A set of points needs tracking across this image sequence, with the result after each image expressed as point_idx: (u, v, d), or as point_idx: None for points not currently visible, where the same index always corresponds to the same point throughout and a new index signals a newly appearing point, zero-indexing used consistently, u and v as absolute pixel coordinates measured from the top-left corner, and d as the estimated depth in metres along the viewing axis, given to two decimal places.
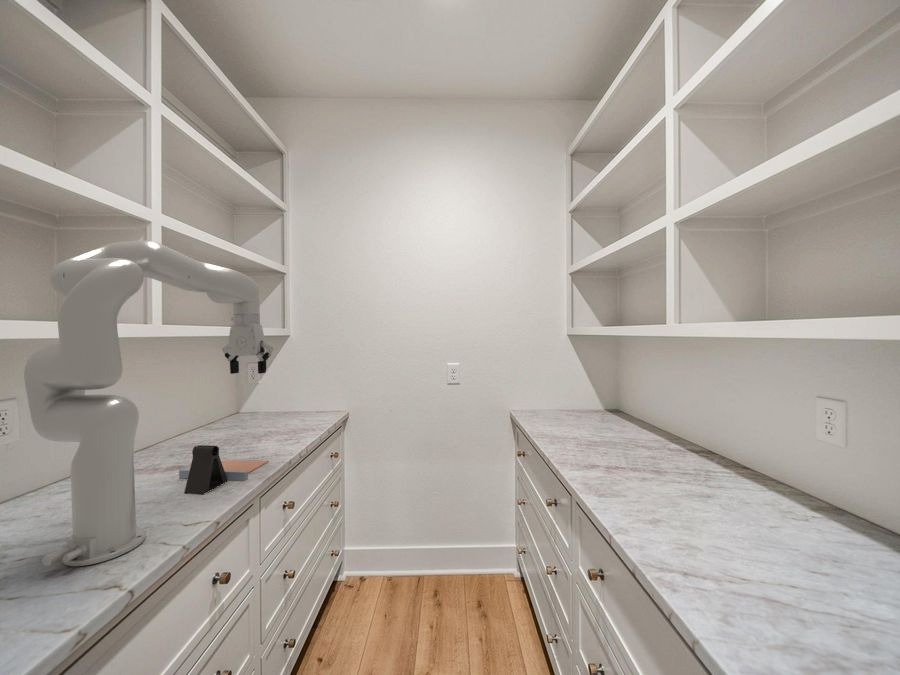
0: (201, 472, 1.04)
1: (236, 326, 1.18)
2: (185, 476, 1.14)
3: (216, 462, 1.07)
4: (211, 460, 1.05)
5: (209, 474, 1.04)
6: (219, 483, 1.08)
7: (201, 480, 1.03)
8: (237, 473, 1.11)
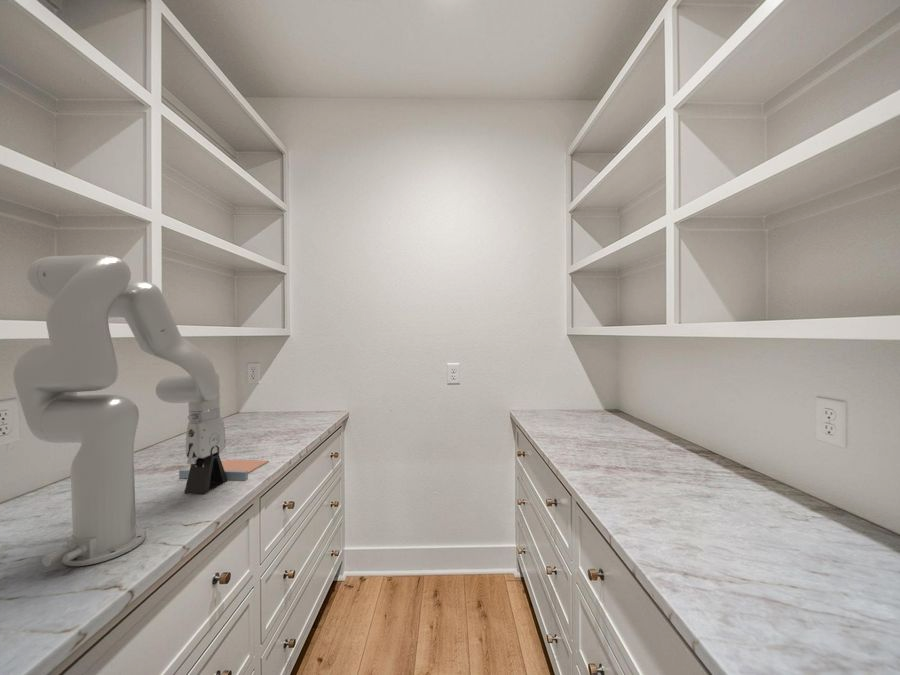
0: (201, 472, 1.04)
1: (208, 423, 1.04)
2: (185, 476, 1.14)
3: (216, 462, 1.07)
4: (211, 460, 1.05)
5: (209, 474, 1.04)
6: (219, 483, 1.08)
7: (201, 480, 1.03)
8: (237, 473, 1.11)
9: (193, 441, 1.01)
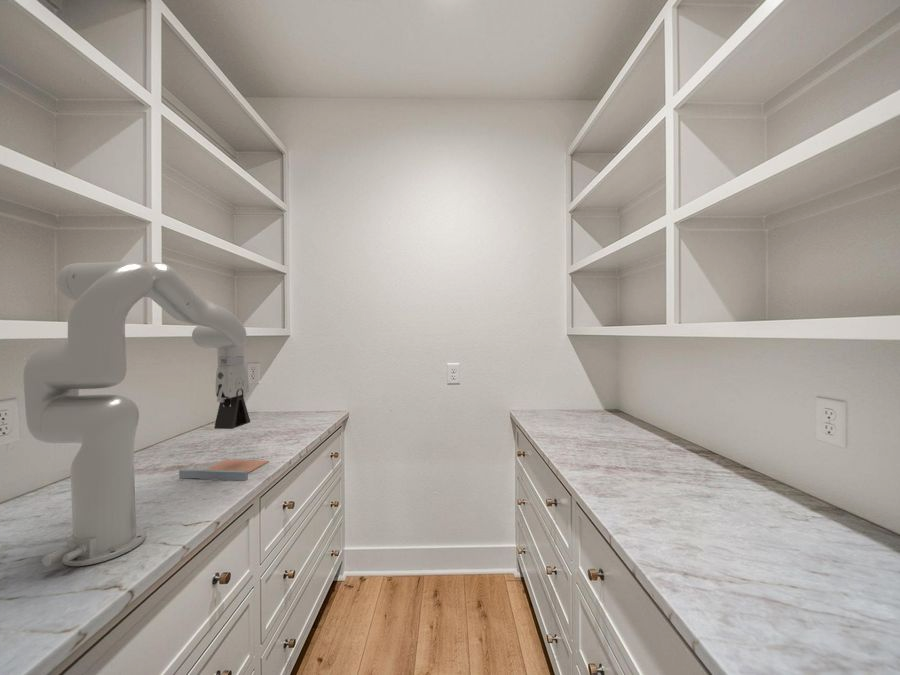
0: (229, 410, 1.19)
1: (234, 368, 1.19)
2: (185, 476, 1.14)
3: (241, 403, 1.22)
4: (237, 400, 1.20)
5: (236, 412, 1.19)
6: (243, 422, 1.23)
7: (229, 417, 1.18)
8: (237, 473, 1.11)
9: (222, 382, 1.16)
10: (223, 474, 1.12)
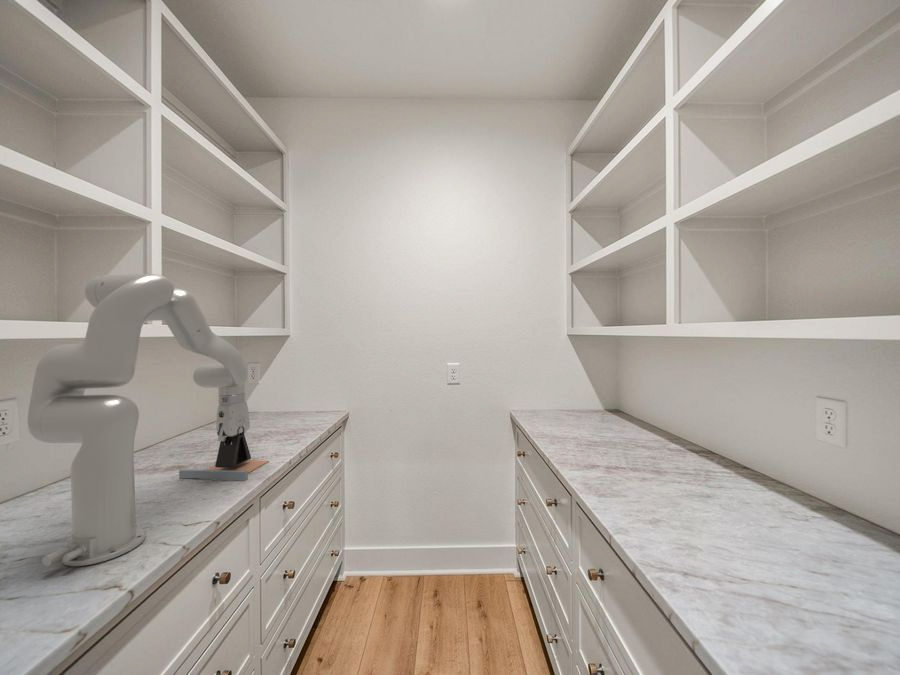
0: (229, 449, 1.19)
1: (235, 406, 1.19)
2: (185, 476, 1.14)
3: (242, 441, 1.22)
4: (238, 438, 1.20)
5: (236, 450, 1.19)
6: (244, 459, 1.23)
7: (230, 455, 1.18)
8: (237, 473, 1.11)
9: (223, 421, 1.16)
10: (223, 474, 1.12)
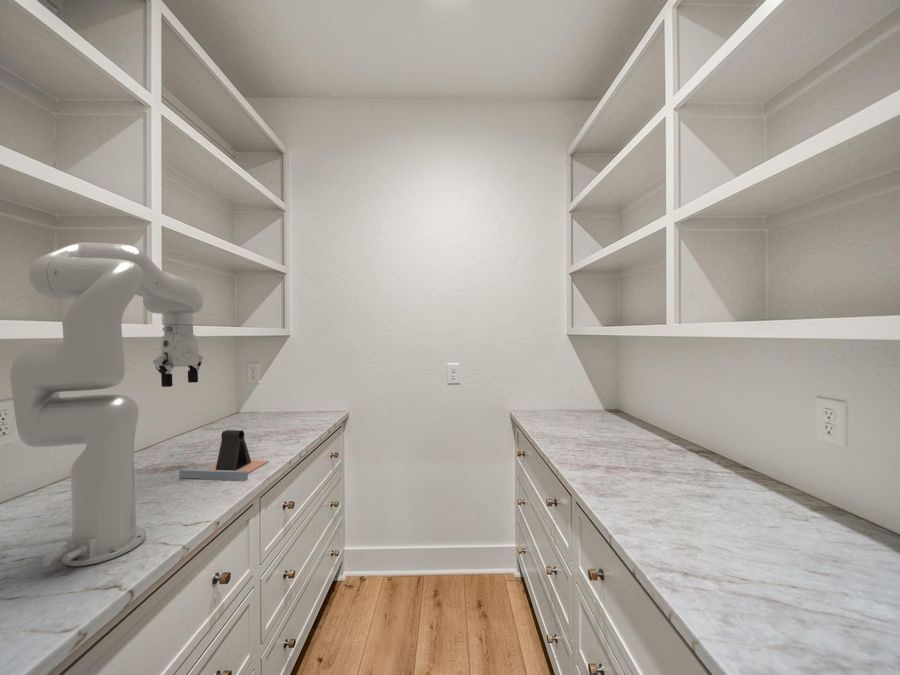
0: (229, 453, 1.19)
1: (181, 336, 1.16)
2: (185, 476, 1.14)
3: (242, 445, 1.22)
4: (238, 443, 1.20)
5: (236, 455, 1.19)
6: (244, 463, 1.23)
7: (230, 460, 1.18)
8: (237, 473, 1.11)
9: (167, 350, 1.13)
10: (223, 474, 1.12)
